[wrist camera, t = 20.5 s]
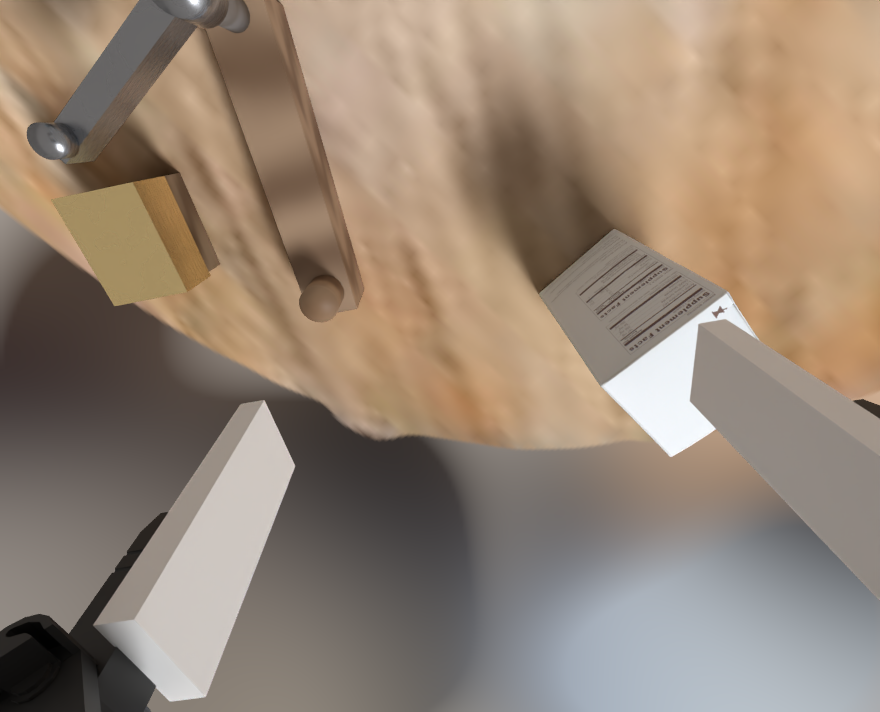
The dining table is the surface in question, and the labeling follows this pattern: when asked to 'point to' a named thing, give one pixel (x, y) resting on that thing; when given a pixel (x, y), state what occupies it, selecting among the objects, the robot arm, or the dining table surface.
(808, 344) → the dining table surface
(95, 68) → the lever
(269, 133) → the body
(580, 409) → the dining table surface
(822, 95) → the dining table surface
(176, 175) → the block
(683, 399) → the supplement box
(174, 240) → the gold metallic block
